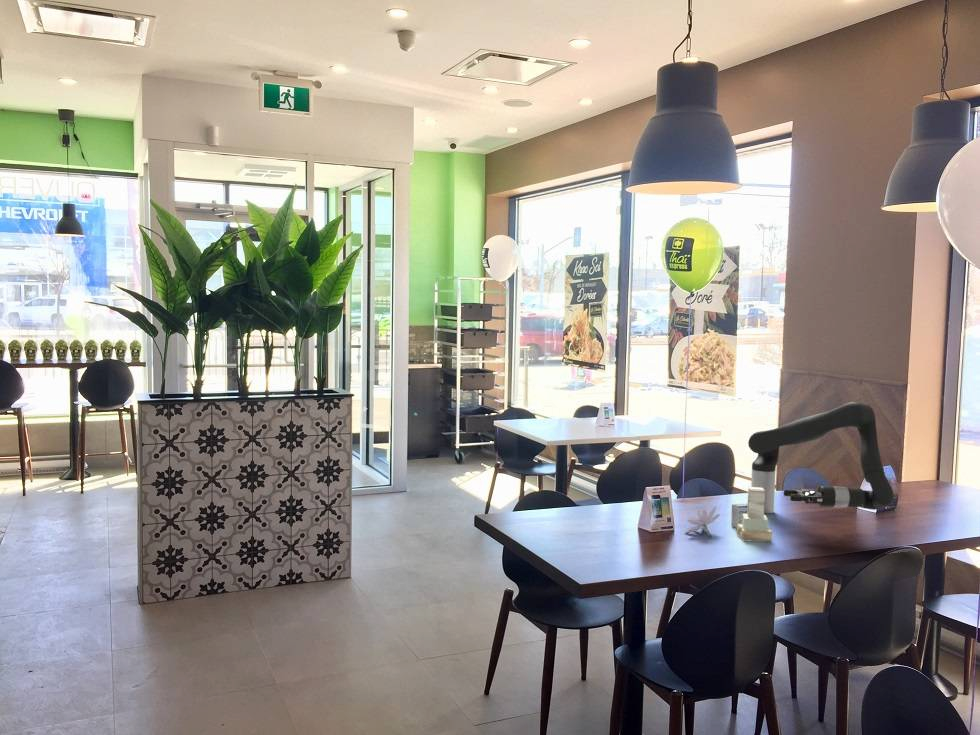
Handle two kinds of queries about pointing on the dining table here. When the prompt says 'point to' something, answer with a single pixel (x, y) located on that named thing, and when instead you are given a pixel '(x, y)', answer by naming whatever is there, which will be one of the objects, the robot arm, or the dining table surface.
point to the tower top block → (754, 523)
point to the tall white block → (755, 502)
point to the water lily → (702, 520)
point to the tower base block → (754, 534)
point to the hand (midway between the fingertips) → (787, 495)
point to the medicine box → (738, 514)
